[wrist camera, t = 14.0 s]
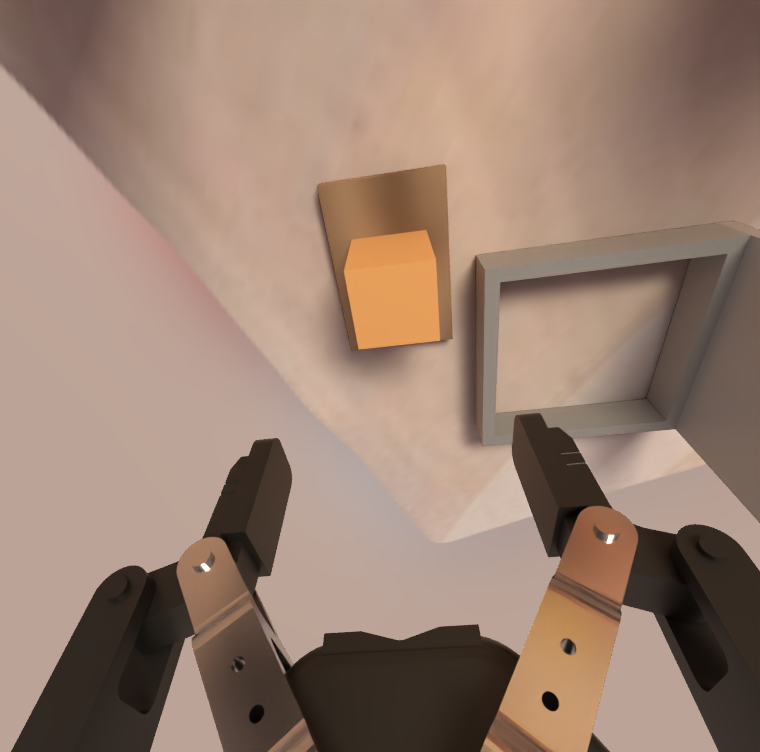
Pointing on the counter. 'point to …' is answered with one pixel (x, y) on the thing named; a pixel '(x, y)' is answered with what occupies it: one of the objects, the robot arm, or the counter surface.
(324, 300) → the counter surface
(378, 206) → the board
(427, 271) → the block
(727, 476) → the case
